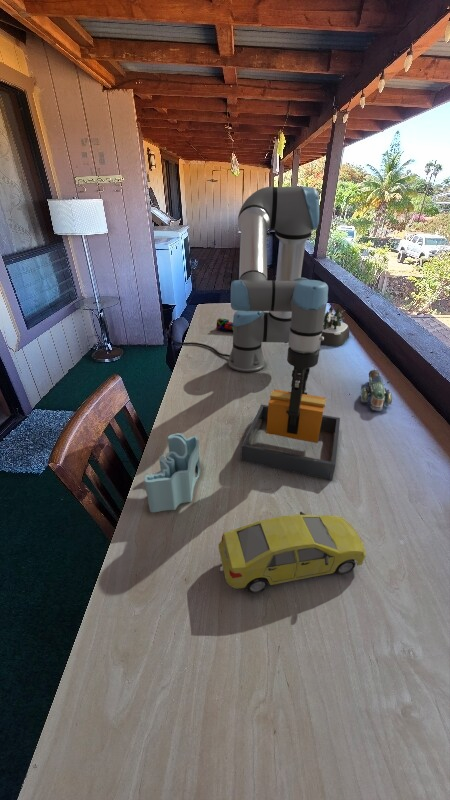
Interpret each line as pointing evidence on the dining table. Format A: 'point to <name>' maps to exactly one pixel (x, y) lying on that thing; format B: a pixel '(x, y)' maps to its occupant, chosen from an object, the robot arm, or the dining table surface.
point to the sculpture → (224, 324)
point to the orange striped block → (307, 420)
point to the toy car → (289, 550)
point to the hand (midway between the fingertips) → (294, 424)
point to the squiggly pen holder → (174, 474)
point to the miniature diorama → (334, 329)
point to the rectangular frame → (286, 459)
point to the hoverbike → (376, 391)
